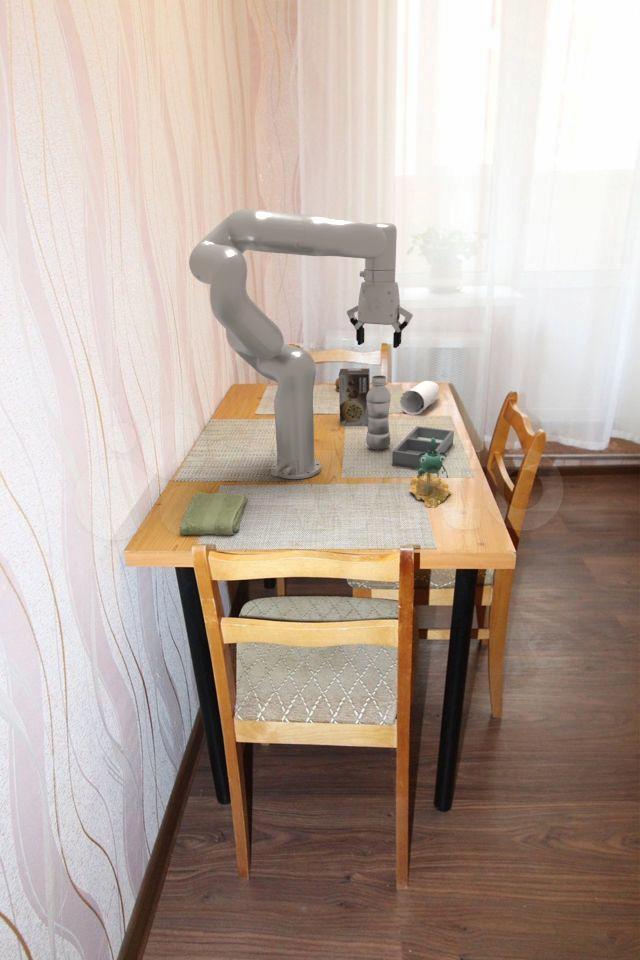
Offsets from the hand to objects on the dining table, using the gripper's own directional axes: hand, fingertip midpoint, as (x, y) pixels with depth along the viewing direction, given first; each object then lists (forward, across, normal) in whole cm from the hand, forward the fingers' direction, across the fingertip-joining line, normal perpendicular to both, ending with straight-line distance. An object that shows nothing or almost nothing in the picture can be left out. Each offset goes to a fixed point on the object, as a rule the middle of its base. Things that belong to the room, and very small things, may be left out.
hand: (378, 345), depth 167 cm
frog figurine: (+29, +21, -22) cm, 42 cm away
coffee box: (+28, -13, +17) cm, 35 cm away
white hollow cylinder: (+28, +2, +38) cm, 47 cm away
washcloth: (+30, -20, -52) cm, 63 cm away
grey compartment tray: (+28, +14, -1) cm, 31 cm away
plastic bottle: (+28, +1, -1) cm, 28 cm away
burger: (+28, -27, +48) cm, 62 cm away
